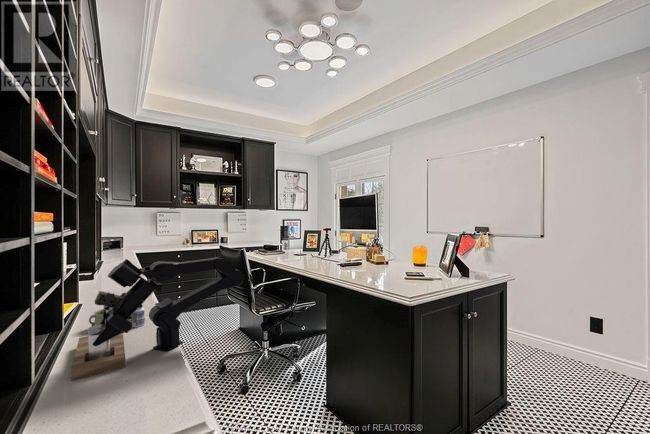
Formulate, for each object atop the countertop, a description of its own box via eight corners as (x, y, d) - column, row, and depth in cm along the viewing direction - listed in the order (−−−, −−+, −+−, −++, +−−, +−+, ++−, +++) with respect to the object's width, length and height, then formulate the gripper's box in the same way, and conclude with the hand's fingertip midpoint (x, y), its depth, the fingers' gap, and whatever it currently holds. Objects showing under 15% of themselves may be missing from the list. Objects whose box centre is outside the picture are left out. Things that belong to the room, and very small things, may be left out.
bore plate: (125, 366, 89) (125, 356, 88) (71, 380, 82) (71, 369, 82) (122, 338, 110) (122, 329, 110) (79, 347, 103) (79, 338, 103)
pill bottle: (138, 327, 120) (137, 306, 120) (127, 327, 121) (127, 305, 121) (147, 323, 124) (146, 302, 124) (137, 322, 125) (136, 302, 125)
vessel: (127, 320, 129) (126, 305, 129) (125, 326, 121) (124, 310, 121) (91, 325, 123) (90, 310, 123) (86, 333, 116) (86, 316, 116)
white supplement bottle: (135, 322, 126) (134, 297, 126) (136, 318, 131) (135, 294, 131) (147, 320, 129) (147, 295, 128) (148, 316, 133) (147, 293, 133)
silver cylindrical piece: (114, 361, 92) (113, 324, 92) (97, 369, 87) (96, 331, 87) (102, 359, 94) (101, 323, 94) (85, 367, 89) (83, 329, 89)
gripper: (111, 276, 100) (67, 318, 93) (116, 286, 85) (65, 336, 79) (140, 296, 105) (101, 337, 98) (150, 308, 90) (105, 358, 84)
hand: (93, 341), depth 90 cm, fingers open, 7 cm apart
